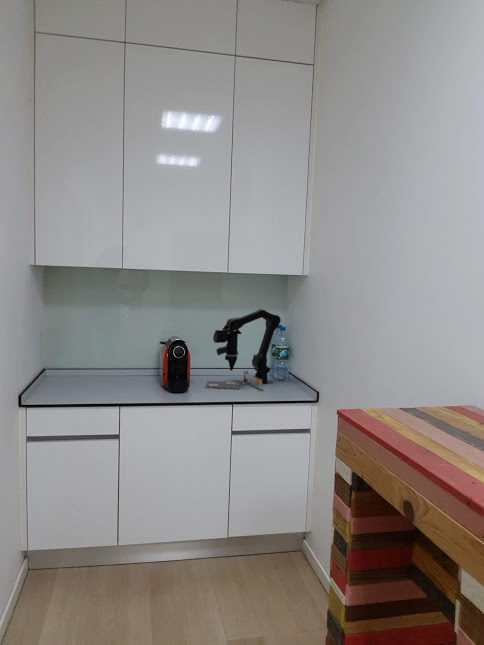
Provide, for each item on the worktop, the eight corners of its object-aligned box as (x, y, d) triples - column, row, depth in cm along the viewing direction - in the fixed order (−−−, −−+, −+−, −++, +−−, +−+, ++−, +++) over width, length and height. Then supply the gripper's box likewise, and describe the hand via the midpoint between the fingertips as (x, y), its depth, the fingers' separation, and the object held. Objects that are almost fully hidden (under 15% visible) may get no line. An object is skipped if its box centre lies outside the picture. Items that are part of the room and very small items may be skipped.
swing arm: (242, 381, 280) (243, 370, 279) (246, 381, 281) (246, 370, 280) (257, 389, 263) (258, 378, 262) (261, 389, 264) (262, 377, 263)
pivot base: (249, 382, 282) (250, 381, 282) (249, 384, 277) (249, 383, 277) (241, 382, 282) (241, 381, 282) (240, 384, 277) (240, 383, 277)
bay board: (240, 383, 278) (240, 381, 278) (239, 389, 265) (239, 387, 264) (207, 381, 279) (207, 380, 279) (205, 387, 265) (205, 386, 265)
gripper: (218, 339, 281) (217, 366, 283) (216, 344, 263) (215, 373, 265) (238, 339, 281) (237, 367, 283) (237, 345, 263) (236, 374, 264)
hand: (231, 370), depth 274 cm, fingers closed
